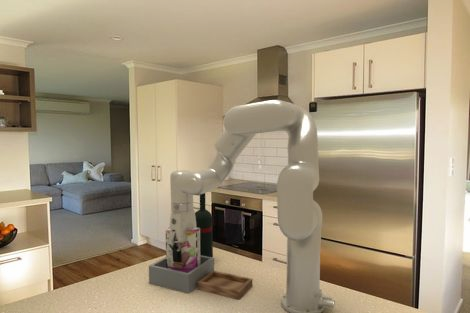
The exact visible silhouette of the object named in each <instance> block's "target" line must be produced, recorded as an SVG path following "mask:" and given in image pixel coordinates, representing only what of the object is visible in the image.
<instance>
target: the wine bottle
mask: <svg viewBox="0 0 470 313" xmlns="http://www.w3.org/2000/svg"><path fill="white" fill-rule="evenodd" d="M195 216H196V227H197V228H200V255H202V256H207V257H212V258H214V252H213V251H214V250H213V249H214V247H213V246H214V245H213V244H214V242H213V236H214V235H213V215H212V213H211V212H210V210H208V209H206V193H204V194H201V195H199V209H198V210H197V211H196V212H195Z"/></svg>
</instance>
